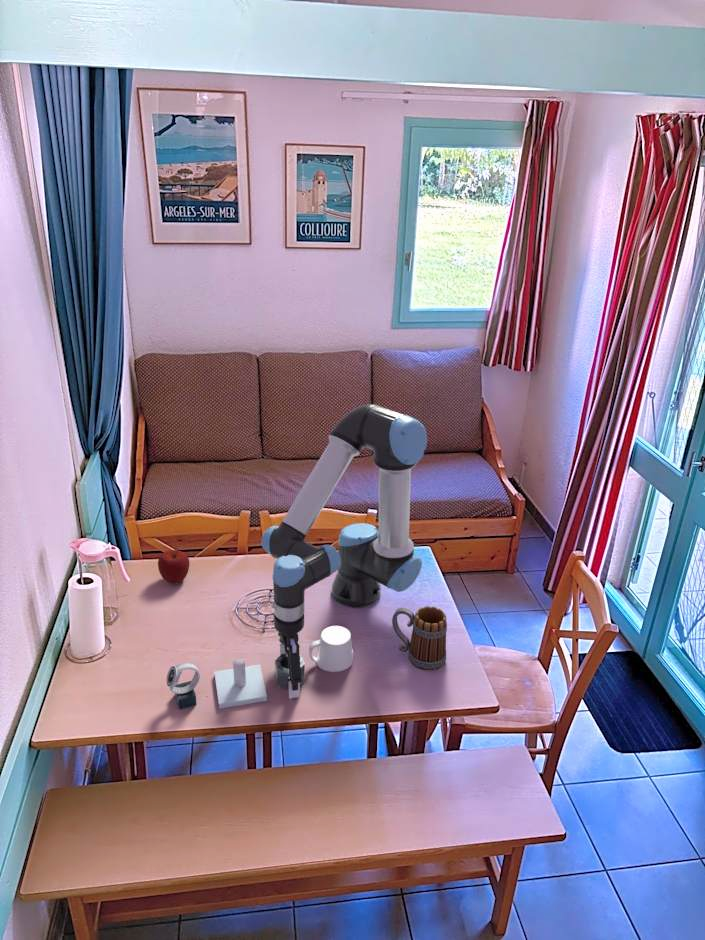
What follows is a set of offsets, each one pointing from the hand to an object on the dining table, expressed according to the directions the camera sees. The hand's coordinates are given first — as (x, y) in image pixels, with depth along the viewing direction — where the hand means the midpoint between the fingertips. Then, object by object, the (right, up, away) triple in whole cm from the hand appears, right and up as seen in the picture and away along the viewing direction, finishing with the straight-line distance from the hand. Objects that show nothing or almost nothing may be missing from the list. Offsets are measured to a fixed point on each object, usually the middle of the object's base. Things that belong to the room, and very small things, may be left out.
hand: (289, 679), depth 191 cm
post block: (-12, -1, -3) cm, 13 cm away
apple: (-39, +20, +38) cm, 59 cm away
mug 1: (+11, +3, +7) cm, 13 cm away
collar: (0, 0, 0) cm, 0 cm away
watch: (-26, -3, -7) cm, 27 cm away
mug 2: (+35, +3, +10) cm, 36 cm away
